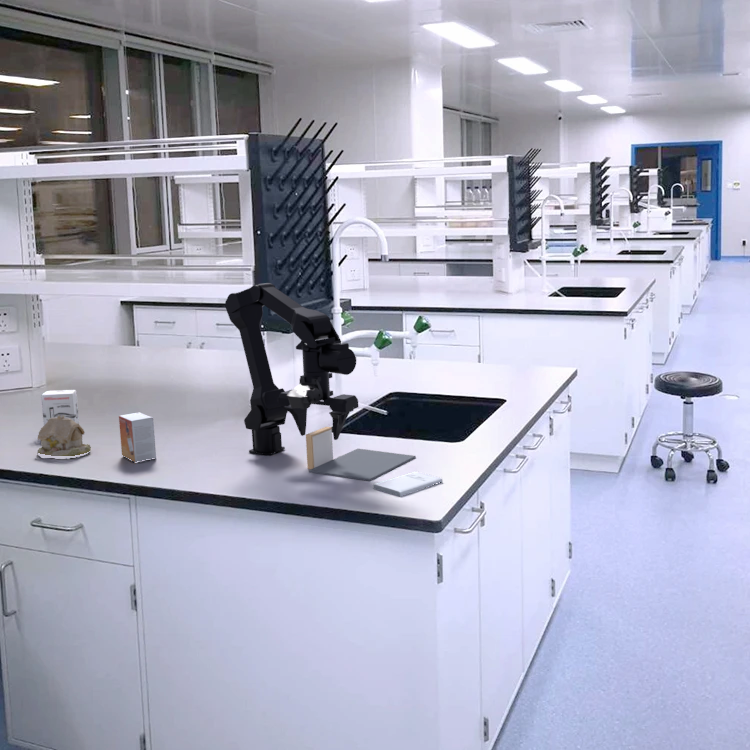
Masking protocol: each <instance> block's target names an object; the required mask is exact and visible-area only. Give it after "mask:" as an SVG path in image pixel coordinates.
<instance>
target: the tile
mask: <svg viewBox="0 0 750 750" xmlns="http://www.w3.org/2000/svg"><path fill="white" fill-rule="evenodd" d="M305 441H306V442H305V444H306V445H305V447H306V460H307V463H306V464H307V465H306V466H307V467H306V468H307V469H308V470H311V469H313V468H315V467H318V466H320V465H322V464H324V463H327V462H329V461H331V460H333V459H334V453H333V452H334V450H333V426H332V427H331V426H324V427H322V428H319V429H317V430H314V431H312V432H310V433H305Z"/></svg>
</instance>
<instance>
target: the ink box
mask: <svg viewBox="0 0 750 750" xmlns="http://www.w3.org/2000/svg"><path fill="white" fill-rule="evenodd" d="M77 393H78V391H77V390H76V389H60V390H59V389H58V390H57V389H56V390H46V391H45V392H43V393H42V394H41V396H40V398H41V399H40V400H41V408H42V420H43V421H42V422H43V426H44V425H45V424H46V423H47V422H48V420H49V419H50V418H53V417H56V418H57V416H58V415H64V418H69V419H72V420H73V421H74V422H76V423H77V424H79V425H80V418H79V408H78V394H77Z"/></svg>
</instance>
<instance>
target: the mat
mask: <svg viewBox="0 0 750 750" xmlns="http://www.w3.org/2000/svg"><path fill="white" fill-rule="evenodd" d="M416 458H417V457H416V455H412V454H411V455H410V454H404V453H395V452H387V451H380V450H372V449H364V448H356V449H354V450H351V451H349V452H347V453H345V454H343V455H340V456H338V457H335V458H333V460H331V461H329V462H327V463H324V464H322V465H320V466H318V467H315V468H313V469H308V472H309V473H314V474H321V475H326V476H327V475H328V476H333V477H334V476H335V477H340V478H347V479H354V480H360V481H367V482H371V481H372V480H373V481H374V479H377V478H379V477H381V476H382V475H384V474H387V473H388V472H390V471H393V470H394V469H396V468H399V467H400V466H402V465H404V464H406V463H407V462H410V461H412V460H414V459H416Z"/></svg>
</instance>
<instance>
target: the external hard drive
mask: <svg viewBox="0 0 750 750" xmlns="http://www.w3.org/2000/svg"><path fill="white" fill-rule="evenodd" d="M439 482H442V483H443V478H442V477H440V476H439V477H438V476H435V475H432V474H428V473H425V472H420V471H417V470H416V471H415V470H414V471H413V472H409V473H406V474H403V475H399V476H396V477H393V478H390V479H386V480H383V481H380V482H377V483H373V485H372V488H373V490H377V491H380V492H384V493H386V494H390V495H394V496H397V497H400V496H401V497H403V495H404V496H406V494H407V495H409V493H410V494H412V493H411V492H413V493H415V492H414V491H416V492H418V491H417V490H419V491H421V490H420V489H422V490H424V489H423V488H425V487H428V486H431V485H433V484H436V483H439ZM439 484H440V483H439ZM431 487H432V486H431ZM428 488H429V487H428ZM425 489H426V488H425Z"/></svg>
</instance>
